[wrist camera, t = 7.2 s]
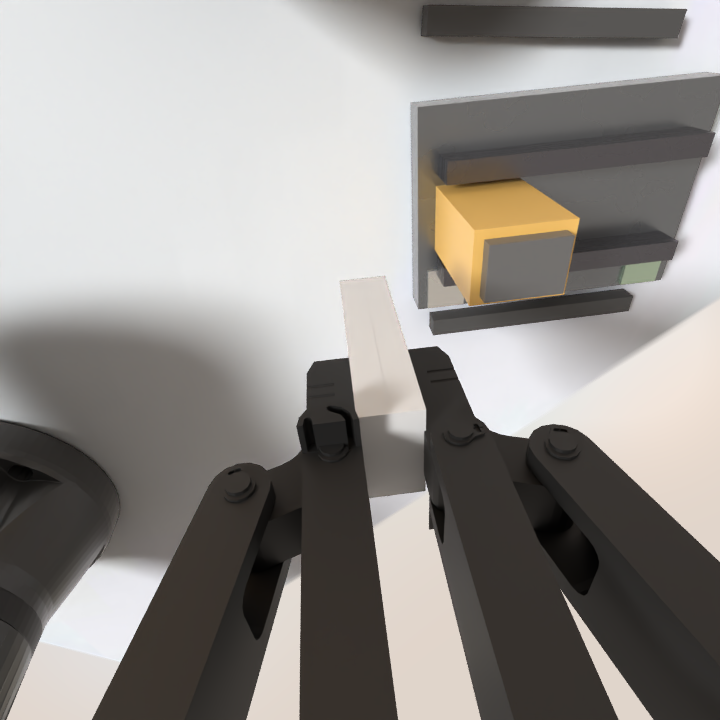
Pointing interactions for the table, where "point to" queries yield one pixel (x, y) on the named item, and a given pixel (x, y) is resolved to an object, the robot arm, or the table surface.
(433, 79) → the table surface
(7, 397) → the table surface
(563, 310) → the dark grey long bar
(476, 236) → the toggle
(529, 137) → the panel
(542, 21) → the bar
